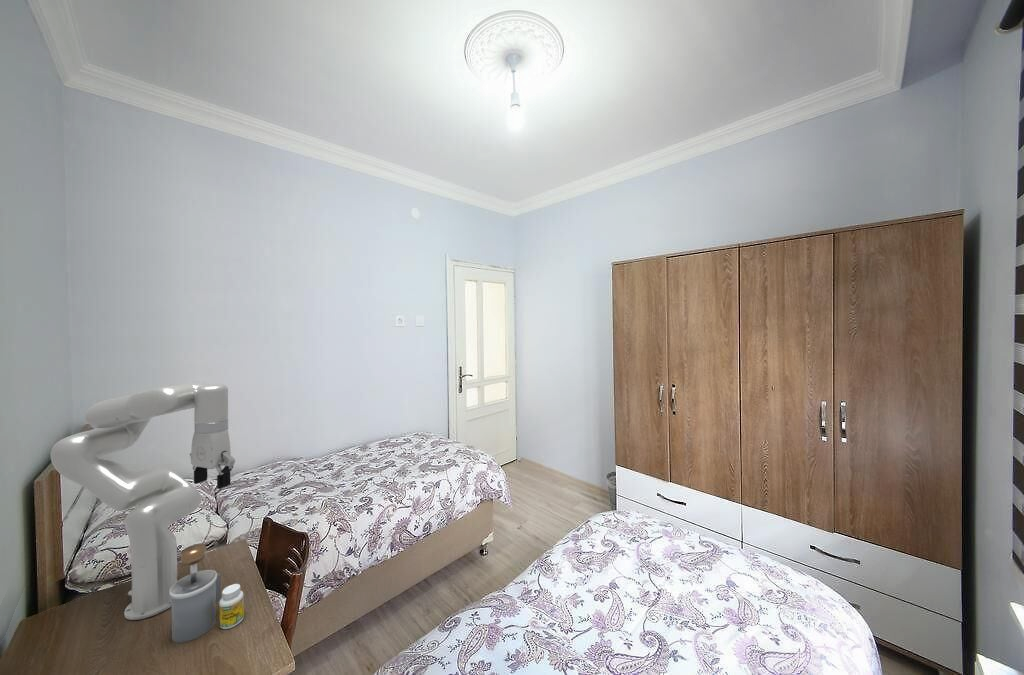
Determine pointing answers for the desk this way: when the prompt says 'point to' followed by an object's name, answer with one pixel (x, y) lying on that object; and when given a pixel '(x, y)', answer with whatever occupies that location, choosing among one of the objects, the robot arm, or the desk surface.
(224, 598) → the supplement bottle
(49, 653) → the desk surface
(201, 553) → the plunger
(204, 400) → the robot arm
